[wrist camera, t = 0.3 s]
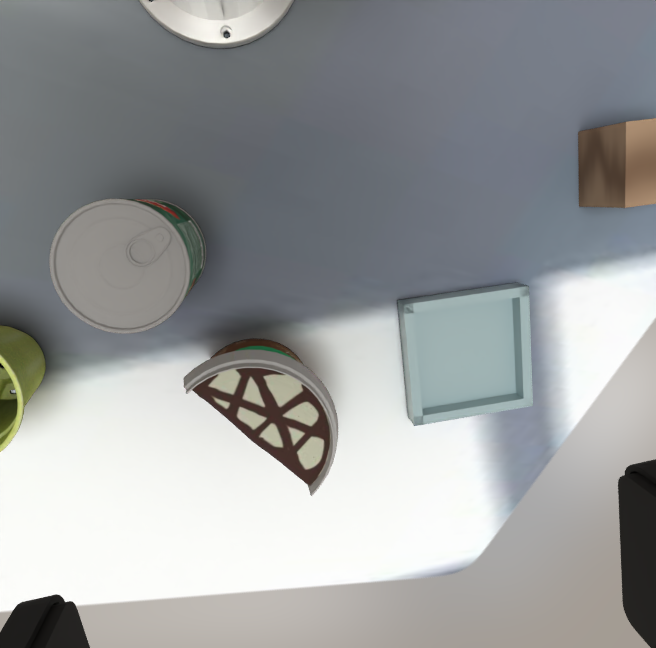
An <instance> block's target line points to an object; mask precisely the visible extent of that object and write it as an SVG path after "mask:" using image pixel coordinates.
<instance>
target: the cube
mask: <svg viewBox="0 0 656 648" xmlns="http://www.w3.org/2000/svg"><path fill="white" fill-rule="evenodd" d="M578 154H579V207H617V208H627V207H634V206H641V205H649V204H656V118H654V119H646V120H638V121H629V122H623V123H618V124H614V125H609V126H604V127H599V128H594V129H589V130H585V131H580V132H578Z"/></svg>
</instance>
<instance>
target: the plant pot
mask: <svg viewBox="0 0 656 648" xmlns="http://www.w3.org/2000/svg"><path fill="white" fill-rule="evenodd" d="M0 363H1V364H2V365H3V366H4V368H1V367H0V452H1V451H2V450H4V449H5V448H6V446H7V445H8V444H9V443H10V442H11V441H12V439H13V438H14V436H15V435H16V433H17V431H18V429H19V427H20V424H21V422H22V418H23V413H24V407H25V405H26V404H27V402H28V401H29V399H30V398H31V396H32V395H33V394H34V392H35V391H36V389H37V388H38V387H39V385H40V384H41V382H42V379H43V376H44V373H45V358H44V355H43V352H42V350H41V348H40V347H39V345H38V344H37V343H36V341H35V340H34V339H33V338H32V337H31V336H29V335H28V334H26V333H24V332H21V331H19V330H16V329H14V328H11V327H8V326H0ZM14 389H15V390H16V394H11V393H10V390H14Z"/></svg>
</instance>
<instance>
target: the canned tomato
mask: <svg viewBox="0 0 656 648" xmlns="http://www.w3.org/2000/svg"><path fill="white" fill-rule="evenodd" d="M205 262H206V244H205V240H204V236H203V234H202V232H201V230H200V228H199V226H198V224H197V223H196V222H195V220H194V219H193V218H192V217H191V216H190V215H189V214H188V213H187V212H186V211H185V210H183V209H181V208H180V207H178V206H177V205H175V204H172V203H170V202H167V201H163V200H157V199H144V200H140V199H105V200H100V201H95V202H92V203H90V204H88V205H85V206H83V207H81V208H80V209H78V210H77V211H75V212H74V213H72V214H71V215H70V216H69V217H68V218H67V219H66V220H65V221H64V222H63V223H62V225H61V226H60V228H59V230H58V231H57V233H56V235H55V236H54V240H53V243H52V246H51V249H50V260H49V265H50V273H51V278H52V281H53V284H54V287H55V290H56V291H57V293H58V295H59V297H60V298H61V300H62V302H63V303H64V304H65V305H66V306H67V308H68V309H69V310H70V311H71V312H72V313H73V314H75V315H76V316H77V317H78V318H79V319H81V320H82V321H84V322H86V323H87V324H89V325H91V326H93V327H95V328H98V329H101V330H104V331H107V332H113V333H120V334H121V333H136V332H141V331H145V330H148V329H150V328H153V327H155V326H157V325H159V324H161V323H162V322H164V321H165V320H166V319H168V318H169V317H170V316H171V315H172V314H173V313H174V312H175V311H176V310H177V309H178V307H179V306H180V304H181V303H182V301H183V300H184V298H185V297H186V296H187V294H188V293H189V291H190V290H191V289H192V287H193V286H194V285H195V284H196V283H197V281H198V279H199V278H200V276H201V275H202V272H203V269H204V267H205Z"/></svg>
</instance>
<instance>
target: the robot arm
mask: <svg viewBox="0 0 656 648" xmlns="http://www.w3.org/2000/svg"><path fill="white" fill-rule="evenodd" d="M139 1H140V3H141V4H142V5H143V7H144V8H145V9H146V10H147V12H148V13H149V14H150V15H151V16H152V18H153V19H155V20H156V21H157V22H158V23H159V24H160V25H161V26H163V27H164V28H165V29H166V30H167V31H169V32H171V33H172V34H174V35H176V36H178V37H179V38H181V39H183V40H185V41H188V42H191V43H193V44H196V45H199V46H205V47H211V48H232V47H237V46H240V45H244V44H248V43H250V42H252V41H254V40H256V39H258V38H260V37H262V36H264V35H265V34H267V33H268V32H269V31H270V30H272V29H273V28H274V27H275V26H277V24H278V23H279V22H280V21H281V20H282V18H283V17H284V16H285V15H286V14H287V12H288V10H289V9H290V7H291V5H292V3H293V1H294V0H155V1H153V2H149V0H139ZM226 32H228V33H230V37H229V38H228V39H226V38H224V37H223V34H224V33H226ZM618 490H619V491H618V493H619V519H620V541H621V543H620V544H621V569H622V593H623V594H622V595H623V607H624V610H625V613H626V616H627V618H628V620H629V622H630V623H631V625H632V626H633V627H634V629H635V630H636V631H637V632H638V634H639V635H640V636H641V637H642V638H643V639H644V640H645V642H646V643H647V644H648V645H649V646H650V647H651V648H656V460H651V461H646V462H642V463H638V464H633V465H630V466H628V467H627V468H626V470H625V475H624V476H622V477H620V479H619V482H618ZM0 648H90V647H89V644H88V640H87V638H86V634H85V632H84V629H83V625H82V622H81V620H80V616H79V613H78V610H77V608H76V605H75V604H74V603H73V602H71V601H69V602H65V601H64V599H63V598H62V597H61V596H60V595H52V596H48V597H43V598H39V599H34V600H30V601H25V602H22V603H20V604H18V605H17V606H16V607H15V609H14V610H13V612H12V614H11V615H10V617H9V618H8V620H7V622H6V623H5V625H4V627H3V628H2V630H1V632H0Z"/></svg>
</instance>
